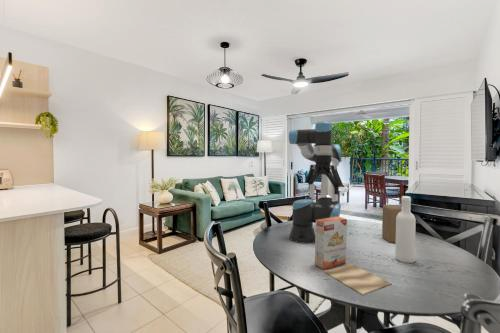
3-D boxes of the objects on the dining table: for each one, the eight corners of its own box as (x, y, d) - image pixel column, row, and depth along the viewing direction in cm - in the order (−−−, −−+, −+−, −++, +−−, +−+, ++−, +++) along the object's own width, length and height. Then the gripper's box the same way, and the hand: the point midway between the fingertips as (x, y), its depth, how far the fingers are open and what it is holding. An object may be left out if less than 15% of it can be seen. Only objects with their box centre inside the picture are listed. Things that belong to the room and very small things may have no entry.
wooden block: (398, 237, 147) (399, 204, 146) (407, 243, 137) (408, 208, 136) (381, 237, 148) (382, 204, 147) (389, 243, 138) (389, 207, 137)
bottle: (391, 257, 118) (392, 196, 117) (402, 254, 121) (403, 194, 120) (407, 264, 111) (409, 198, 109) (418, 261, 114) (420, 197, 112)
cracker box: (324, 270, 105) (324, 222, 104) (314, 264, 111) (314, 219, 110) (346, 263, 112) (347, 218, 111) (336, 258, 117) (337, 215, 116)
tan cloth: (324, 272, 104) (324, 271, 104) (351, 264, 111) (351, 263, 111) (362, 295, 87) (362, 293, 87) (391, 284, 94) (391, 283, 94)
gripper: (298, 155, 125) (298, 196, 125) (340, 154, 104) (340, 204, 105) (308, 155, 129) (308, 195, 130) (351, 154, 108) (350, 202, 109)
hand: (322, 199), depth 117 cm, fingers open, 13 cm apart
